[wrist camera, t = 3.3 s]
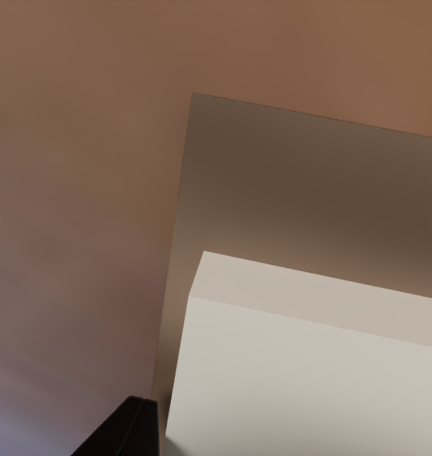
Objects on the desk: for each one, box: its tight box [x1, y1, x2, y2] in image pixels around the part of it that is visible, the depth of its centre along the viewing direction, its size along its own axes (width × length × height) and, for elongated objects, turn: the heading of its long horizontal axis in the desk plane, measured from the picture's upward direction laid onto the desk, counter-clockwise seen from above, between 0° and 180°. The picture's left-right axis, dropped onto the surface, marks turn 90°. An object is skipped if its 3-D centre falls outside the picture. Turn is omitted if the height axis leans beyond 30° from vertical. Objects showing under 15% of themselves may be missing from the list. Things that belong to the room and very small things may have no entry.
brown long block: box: [150, 93, 432, 456], centre depth 11 cm, size 16×7×4 cm, turn 170°
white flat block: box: [162, 251, 432, 456], centre depth 9 cm, size 9×6×2 cm, turn 170°
